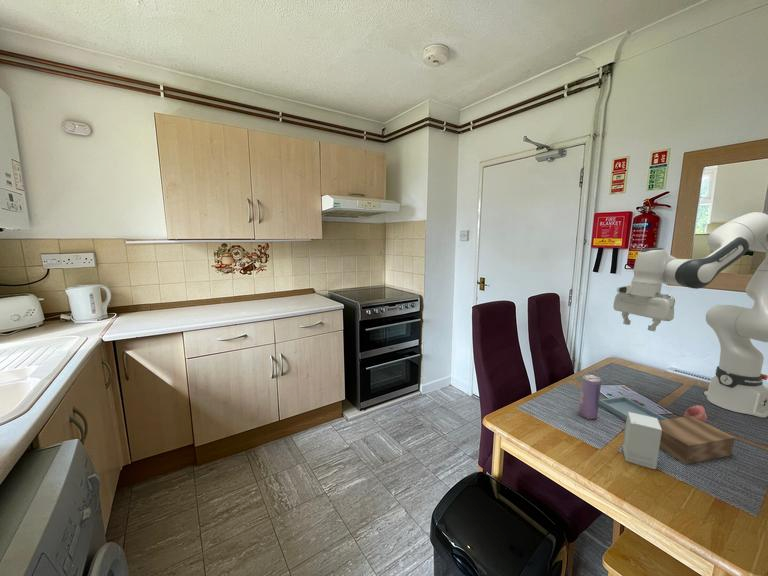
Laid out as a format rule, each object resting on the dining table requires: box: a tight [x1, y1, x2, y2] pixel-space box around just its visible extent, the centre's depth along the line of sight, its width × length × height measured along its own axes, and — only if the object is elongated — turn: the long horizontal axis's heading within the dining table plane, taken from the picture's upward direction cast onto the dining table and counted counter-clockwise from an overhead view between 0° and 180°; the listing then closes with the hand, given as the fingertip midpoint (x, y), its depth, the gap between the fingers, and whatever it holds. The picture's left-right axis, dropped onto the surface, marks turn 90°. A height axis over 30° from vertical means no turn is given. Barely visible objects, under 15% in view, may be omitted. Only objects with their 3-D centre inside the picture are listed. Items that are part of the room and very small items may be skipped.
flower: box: [683, 404, 708, 423], centre depth 115 cm, size 8×8×6 cm
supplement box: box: [622, 412, 662, 470], centre depth 96 cm, size 7×7×13 cm
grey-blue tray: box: [598, 396, 668, 423], centre depth 119 cm, size 12×19×2 cm, turn 12°
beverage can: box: [578, 374, 602, 420], centre depth 119 cm, size 6×6×15 cm
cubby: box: [658, 416, 736, 465], centre depth 102 cm, size 18×12×6 cm, turn 102°
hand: (638, 327), depth 122 cm, fingers open, 8 cm apart
